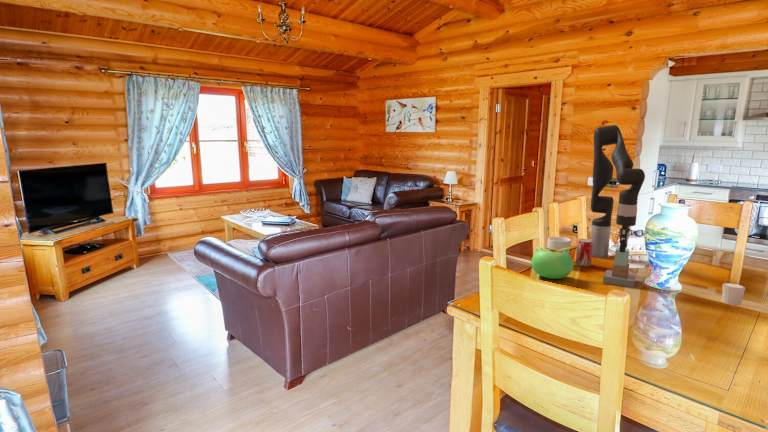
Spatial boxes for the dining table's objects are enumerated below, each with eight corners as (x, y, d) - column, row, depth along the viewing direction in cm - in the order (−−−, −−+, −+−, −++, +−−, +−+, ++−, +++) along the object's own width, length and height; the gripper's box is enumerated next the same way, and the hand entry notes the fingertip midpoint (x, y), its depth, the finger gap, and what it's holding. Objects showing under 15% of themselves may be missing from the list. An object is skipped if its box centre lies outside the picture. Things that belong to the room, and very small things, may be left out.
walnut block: (613, 272, 192) (614, 261, 191) (628, 274, 189) (629, 264, 188) (611, 275, 187) (612, 265, 186) (627, 278, 184) (628, 267, 183)
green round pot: (528, 279, 191) (530, 248, 189) (533, 269, 206) (535, 241, 203) (571, 285, 183) (573, 253, 181) (573, 275, 198) (575, 245, 195)
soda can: (587, 263, 217) (589, 238, 215) (593, 267, 210) (595, 242, 208) (573, 262, 218) (575, 238, 216) (578, 266, 211) (580, 241, 209)
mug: (538, 259, 225) (539, 235, 223) (557, 258, 227) (558, 234, 225) (553, 267, 211) (555, 241, 208) (573, 266, 212) (575, 241, 210)
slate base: (606, 275, 197) (606, 269, 196) (635, 280, 190) (636, 274, 190) (602, 282, 187) (603, 276, 187) (633, 287, 180) (634, 281, 180)
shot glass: (738, 300, 166) (740, 283, 165) (746, 306, 160) (749, 289, 158) (717, 298, 168) (719, 281, 167) (724, 304, 162) (727, 287, 161)
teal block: (615, 262, 191) (616, 247, 190) (627, 264, 188) (629, 248, 187) (614, 264, 187) (615, 249, 185) (627, 266, 184) (628, 251, 183)
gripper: (618, 210, 191) (615, 245, 194) (615, 215, 179) (611, 252, 182) (637, 212, 187) (633, 247, 190) (635, 217, 175) (631, 254, 178)
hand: (623, 249), depth 186 cm, fingers open, 8 cm apart
